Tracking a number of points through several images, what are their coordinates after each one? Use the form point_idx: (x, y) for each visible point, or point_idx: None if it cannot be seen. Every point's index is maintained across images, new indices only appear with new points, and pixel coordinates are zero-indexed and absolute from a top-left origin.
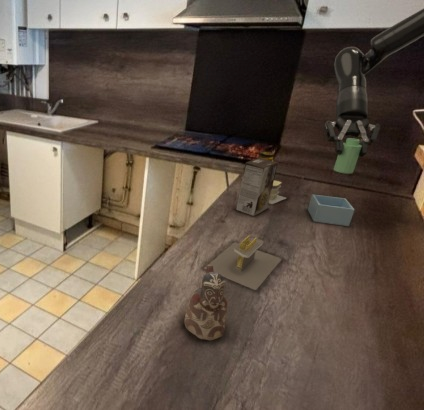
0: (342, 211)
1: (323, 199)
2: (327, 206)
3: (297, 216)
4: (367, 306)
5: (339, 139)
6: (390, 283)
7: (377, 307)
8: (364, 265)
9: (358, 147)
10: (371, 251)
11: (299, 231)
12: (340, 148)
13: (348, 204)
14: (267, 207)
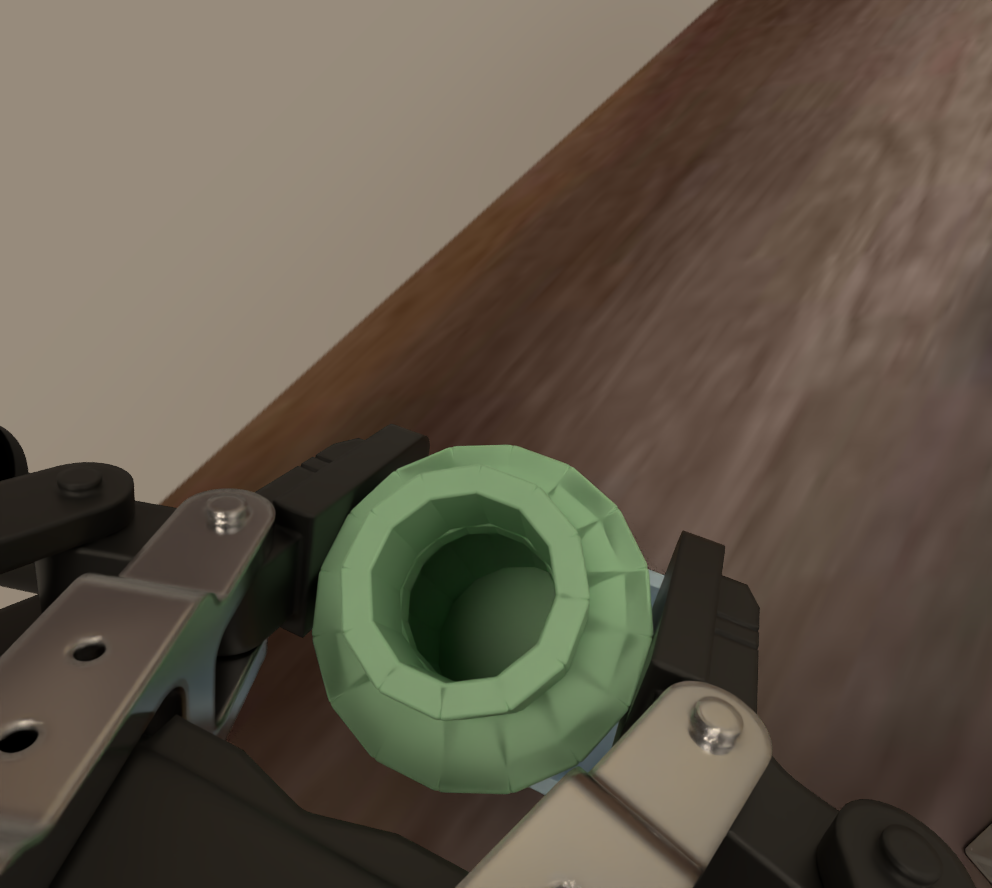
0: None
1: (554, 777)
2: (654, 572)
3: (765, 696)
4: (853, 10)
5: (732, 697)
6: (688, 109)
7: (824, 9)
8: (704, 199)
9: (466, 451)
10: (591, 296)
11: (853, 478)
12: (720, 559)
13: None
14: (973, 848)
